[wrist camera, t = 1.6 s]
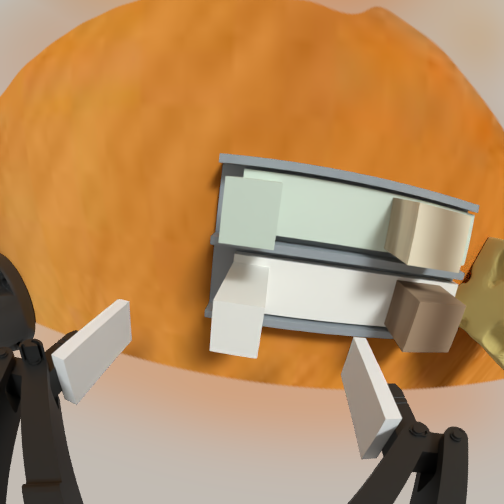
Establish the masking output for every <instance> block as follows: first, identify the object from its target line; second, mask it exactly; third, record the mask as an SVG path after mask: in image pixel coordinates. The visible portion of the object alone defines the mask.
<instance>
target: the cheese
mask: <svg viewBox="0 0 504 504" xmlns="http://www.w3.org/2000/svg"><path fill="white" fill-rule="evenodd" d="M471 273H472V275H471V278H470V280H469V281H468V282H467V283H461V284H460V285H459V286H458V288H457V291H456V295H455V298H457V299H458V300H459V301H461V302H462V303H463V304H464V305H466V308H465V311H464V314H463V316H462V319H461V322H460V325H459V327H460V328H462V329H463V330H465V331H466V332H467V333H468V334H469V336H470V337H471V338H473V339H474V340H475V341H476V342H477V343H479V344H480V345H481V346H482V347H483V348H484V350H485V351H486V352H487V353H488V354H489V355H490V356H491V357H492V358H493V360H494V361H495V362H496V363H497V364H498V365H499V366H500V367H501V368H502V369H503V370H504V240H502V239H498V238H493V237H489V238H488V239H487V241H486V243H485V244H484V246H483V248H482V250H481V252H480V253H479V255H478V257H477V259H476V260H475V262H474V264H473V267H472V271H471Z"/></svg>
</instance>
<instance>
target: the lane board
mask: <svg viewBox="0 0 504 504" xmlns="http://www.w3.org/2000/svg"><path fill="white" fill-rule="evenodd" d="M219 162H220V163H223V168H222V177H221V185H220V194H219V203H218V213H217V222H216V232H215V233H214V234H213V235H211V241H210V244H212V245H214V253H213V264H212V276H211V288H210V301H209V304H208V305H207V307H206V309H205V317H208V318H212V310H213V300H214V298H215V296H216V294H217V292H218V290H219V288H220V286H221V284H222V283H223V281H224V279H225V277H226V275H227V273H228V271H229V269H230V268H231V266H232V264H233V262H234V254H235V252H236V251H240V252H247V253H254V254H261V255H268V256H275V257H282V258H289V259H296V260H303V261H310V262H318V263H325V264H332V265H339V266H346V267H353V268H360V269H367V270H375V271H382V272H389V273H396V274H403V275H410V276H417V277H425V278H432V279H439V280H446V281H452V280H453V279H458V280H463V278H464V274H465V273H463V272H462V271H460V270H459V273H455V272H449V271H443V270H436V269H430V268H423V267H417V266H411V265H407V264H405V263H404V262H403V261H401V260H400V259H398V258H397V257H396V256H394V255H393V254H391V253H388V252H382V251H375V250H369V249H363V248H356V247H350V246H343V245H337V244H330V243H324V242H317V241H310V240H303V239H297V238H290V237H283V236H276V238H275V245H274V250H267V249H260V248H253V247H246V246H239V245H232V244H224V243H218V242H219V232H220V223H221V213H222V204H223V195H224V186H225V178H226V176H233V177H243V176H244V169H251V170H260V171H268V172H275V173H282V174H289V175H296V176H303V177H309V178H315V179H321V180H327V181H333V182H338V183H344V184H349V185H354V186H359V187H364V188H369V189H374V190H379V191H383V192H388V193H392V194H397V195H401V196H405V197H409V198H414V199H418V200H422V201H426V202H429V203H433V204H437V205H441V206H444V207H448V208H452V209H455V210H459V211H462V212H466V213H468V211H472V212H476V213H478V210H479V205H476V204H473V203H470V202H466V201H463V200H460V199H457V198H454V197H450V196H447V195H444V194H440V193H437V192H433V191H429V190H426V189H422V188H418V187H415V186H411V185H407V184H403V183H399V182H394V181H390V180H386V179H382V178H377V177H373V176H368V175H363V174H358V173H354V172H349V171H343V170H338V169H333V168H327V167H321V166H315V165H309V164H303V163H297V162H290V161H283V160H275V159H268V158H260V157H251V156H242V155H232V154H221V153H220V157H219ZM262 326H265V327H273V328H280V329H288V330H296V331H305V332H314V333H323V334H333V335H344V336H356V337H370V338H385V339H394V338H393V337H392V335H391V334H390V332H389V331H388V329H387V328H386V327H382V326H370V325H358V324H347V323H337V322H328V321H318V320H310V319H301V318H293V317H285V316H278V315H270V314H264V318H263V324H262Z"/></svg>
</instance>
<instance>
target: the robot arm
mask: <svg viewBox="0 0 504 504" xmlns="http://www.w3.org/2000/svg"><path fill="white" fill-rule="evenodd" d="M34 334H35V316H34V311H33V306H32V303H31V300H30V297H29V294H28V291H27V289H26V286H25V284H24V282H23V280H22V278H21V276H20V275H19V273H18V271H17V270H16V268H15V267H14V265H13V264H12V263H11V262H10V261H9V260H8V259H7V258H6V257H5V256H4V255H2V254H1V253H0V504H6V495H7V485H8V478H9V471H10V464H11V459H12V454H13V449H14V444H15V439H16V435H17V431H18V426H19V422H20V419H21V434H22V448H23V459H24V467H25V475H26V484H23V485H22V493H23V499H24V504H83V501H82V498H81V495H80V492H79V489H78V485H77V482H76V478H75V475H74V471H73V467H72V463H71V459H70V456H69V451H68V446H67V441H66V436H65V431H64V425H63V420H62V413H61V406H60V399H59V397H58V394H59V393H60V392H61V391H62V392H63V395H64V398H65V399H66V400H68V401H70V402H72V403H74V404H76V405H77V404H78V403H79V402H80V400H81V399H82V398H83V397H84V396H85V394H86V393H87V392H88V391H89V390H90V388H91V387H92V386H93V385H94V384H95V382H96V381H97V380H98V379H99V378H100V376H101V375H102V374H103V373H104V371H106V369H107V368H108V367H109V366H110V364H111V363H112V362H113V361H114V360H115V359H116V358H117V356H118V355H119V354H120V353H121V352H122V351H123V350H124V349H125V347H126V346H127V345H128V344H129V343H130V342H131V340H132V337H131V323H130V306H129V301H125V300H121V299H118V300H116V301H115V302H114V303H113V304H111V305H110V306H109V307H108V308H106V309H105V310H104V311H103V312H102V313H100V314H99V315H98V316H97V317H95V318H94V319H93V320H92V321H91V322H89V323H88V324H87V325H86V326H84V327H83V328H82V329H81V330H80V331H76V330H75V331H72V332H70V333H68V334H66V335H65V336H64V337H63V338H62V339H60V340H59V341H58V342H57V343H55V344H54V345H53V346H52V347H50V348H49V349H48V350H47V351H46V352H44V348H43V344H42V342H41V341H40V340H37V339H33V337H34ZM15 350H20V354H21V357H22V358H17V357H14V354H13V351H15ZM341 377H342V381H343V385H344V389H345V393H346V397H347V401H348V405H349V409H350V412H351V417H352V420H353V425H354V429H355V434H356V438H357V443H358V446H359V451H360V456H361V459H371V458H377V457H378V455H379V454H380V452H381V451H382V453H383V456H384V457H383V459H382V460H381V461H380V463H379V464H378V465H377V467H376V468H375V469H374V471H373V472H372V474H371V475H370V476H369V478H368V479H367V480H366V482H365V483H364V484H363V486H362V487H361V488H360V489H359V491H358V492H357V493H356V494H355V495H354V497H353V498H352V499H351V500H350V501H349V502H348V504H393V503H394V501H395V500H396V498H397V496H398V495H399V493H400V492H401V490H402V488H403V487H404V485H405V483H406V481H407V480H408V478H409V476H410V474H411V473H412V472H417V474H416V479H415V483H414V488H413V492H412V497H411V500H410V504H466V496H467V482H468V481H467V480H468V437H467V434H466V433H465V431H464V430H462V429H461V428H458V427H449V428H448V429H447V430H446V431H445V432H444V434H439V433H431V432H430V431H429V429H428V428H427V426H426V425H424V424H423V423H421V422H417V421H416V420H415V417H414V415H413V413H412V411H411V409H410V407H409V405H408V403H407V400H406V399H405V398H404V397H405V396H404V394H403V392H402V390H401V389H400V388H399V387H398V386H397V385H396V384H387V382H386V380H385V378H384V376H383V374H382V371H381V369H380V367H379V365H378V363H377V361H376V359H375V356H374V354H373V352H372V350H371V348H370V346H369V344H368V342H367V340H366V338H360V337H353V340H352V343H351V346H350V349H349V352H348V355H347V358H346V361H345V364H344V367H343V370H342V373H341Z"/></svg>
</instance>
